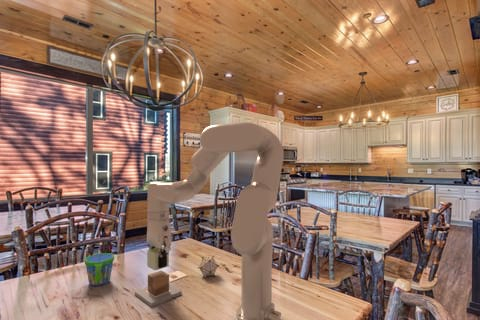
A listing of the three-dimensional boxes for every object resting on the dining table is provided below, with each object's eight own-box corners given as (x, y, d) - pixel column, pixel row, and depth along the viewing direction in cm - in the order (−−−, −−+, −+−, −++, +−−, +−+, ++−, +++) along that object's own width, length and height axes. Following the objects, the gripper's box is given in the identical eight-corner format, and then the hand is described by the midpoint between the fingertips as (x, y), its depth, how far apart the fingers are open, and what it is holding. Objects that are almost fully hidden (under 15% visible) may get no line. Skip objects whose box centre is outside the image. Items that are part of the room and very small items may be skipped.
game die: (211, 286, 114) (214, 273, 109) (193, 277, 116) (195, 263, 110) (220, 269, 122) (223, 255, 116) (203, 260, 123) (205, 247, 117)
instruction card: (187, 275, 116) (187, 274, 116) (166, 283, 109) (166, 282, 109) (178, 271, 121) (178, 270, 121) (157, 278, 113) (157, 277, 113)
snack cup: (111, 289, 104) (111, 262, 104) (79, 293, 101) (79, 266, 101) (116, 273, 119) (116, 249, 119) (89, 276, 115) (89, 252, 115)
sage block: (168, 266, 100) (168, 249, 100) (155, 270, 96) (155, 253, 96) (160, 262, 104) (160, 246, 104) (147, 266, 100) (147, 250, 100)
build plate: (181, 294, 100) (181, 290, 100) (151, 307, 91) (151, 303, 91) (164, 284, 108) (164, 280, 108) (134, 294, 100) (134, 291, 100)
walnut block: (169, 290, 100) (169, 274, 100) (155, 296, 96) (155, 279, 96) (161, 286, 104) (161, 270, 104) (147, 291, 100) (147, 274, 100)
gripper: (180, 217, 97) (180, 268, 97) (155, 210, 108) (155, 256, 108) (161, 220, 91) (161, 274, 91) (137, 213, 103) (137, 261, 103)
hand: (158, 264), depth 100 cm, fingers closed on sage block, 5 cm apart
